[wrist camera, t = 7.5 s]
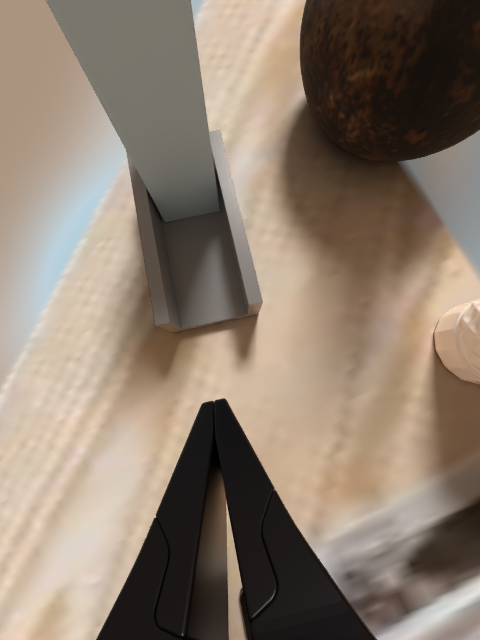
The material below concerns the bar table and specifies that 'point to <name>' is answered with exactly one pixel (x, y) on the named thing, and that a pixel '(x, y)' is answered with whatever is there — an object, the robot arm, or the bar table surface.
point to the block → (149, 93)
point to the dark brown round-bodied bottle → (392, 74)
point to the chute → (197, 256)
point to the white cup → (460, 341)
